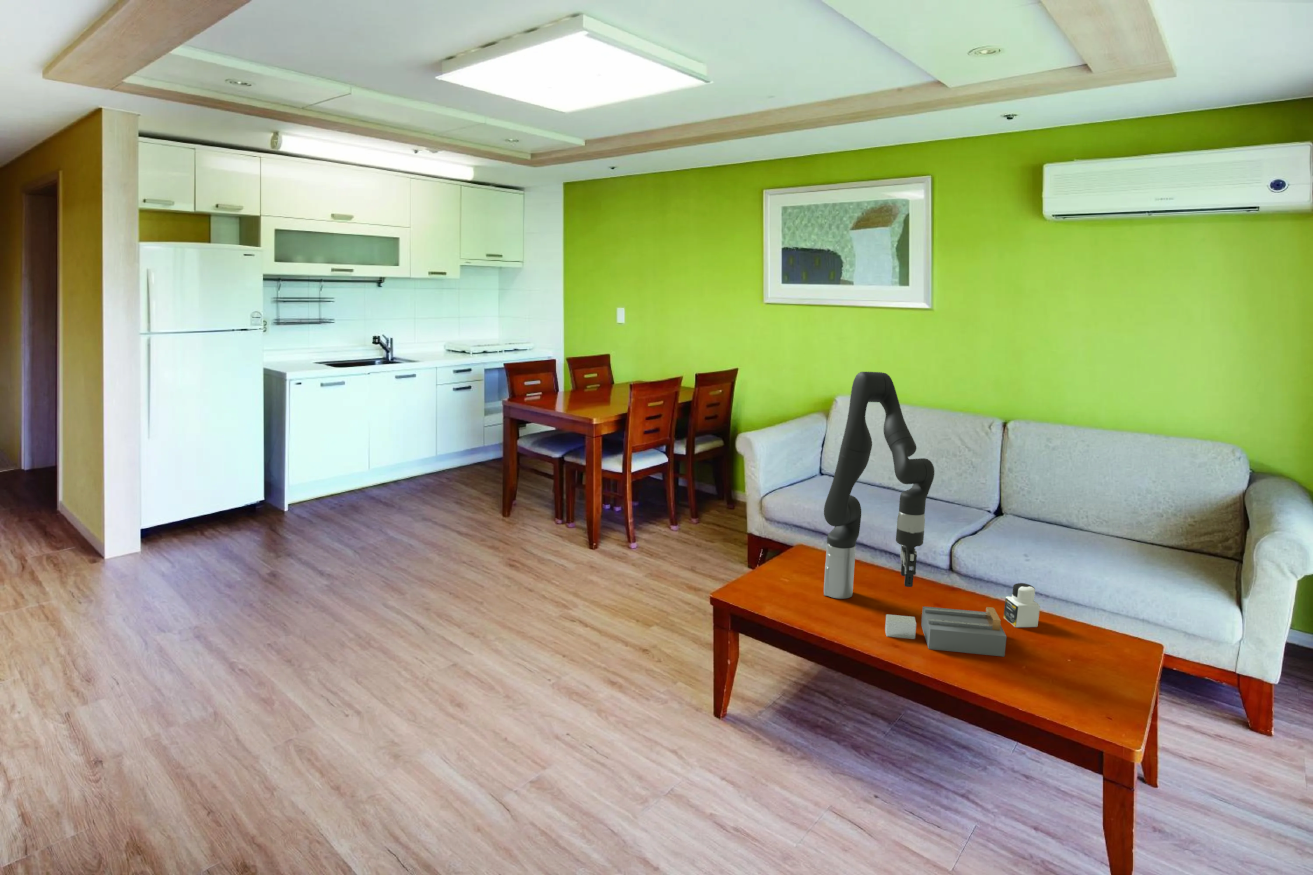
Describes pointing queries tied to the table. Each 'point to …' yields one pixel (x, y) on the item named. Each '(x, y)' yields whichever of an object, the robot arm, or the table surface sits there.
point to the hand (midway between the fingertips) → (906, 580)
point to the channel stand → (964, 631)
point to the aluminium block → (900, 626)
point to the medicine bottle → (1022, 606)
